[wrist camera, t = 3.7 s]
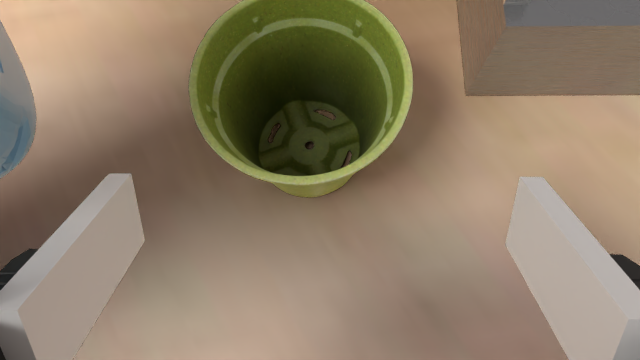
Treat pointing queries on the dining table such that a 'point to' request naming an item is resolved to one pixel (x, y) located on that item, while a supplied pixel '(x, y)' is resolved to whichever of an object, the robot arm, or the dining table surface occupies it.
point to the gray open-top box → (550, 47)
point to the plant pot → (301, 90)
